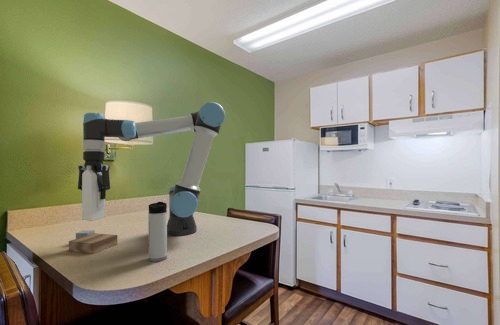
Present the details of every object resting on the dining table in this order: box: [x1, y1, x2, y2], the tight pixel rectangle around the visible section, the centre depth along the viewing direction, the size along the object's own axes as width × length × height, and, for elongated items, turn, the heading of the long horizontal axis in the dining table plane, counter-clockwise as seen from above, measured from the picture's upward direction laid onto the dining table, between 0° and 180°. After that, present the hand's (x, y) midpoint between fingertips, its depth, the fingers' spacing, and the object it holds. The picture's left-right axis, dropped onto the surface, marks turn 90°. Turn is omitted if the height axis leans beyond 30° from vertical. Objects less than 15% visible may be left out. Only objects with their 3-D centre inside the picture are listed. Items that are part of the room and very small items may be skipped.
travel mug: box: [148, 201, 168, 263], centre depth 91 cm, size 6×7×20 cm
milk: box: [81, 166, 106, 222], centre depth 104 cm, size 6×6×22 cm
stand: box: [68, 232, 118, 255], centre depth 104 cm, size 12×12×4 cm
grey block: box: [75, 229, 96, 239], centre depth 110 cm, size 5×5×5 cm
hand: (93, 206), depth 104 cm, fingers closed on milk, 7 cm apart
